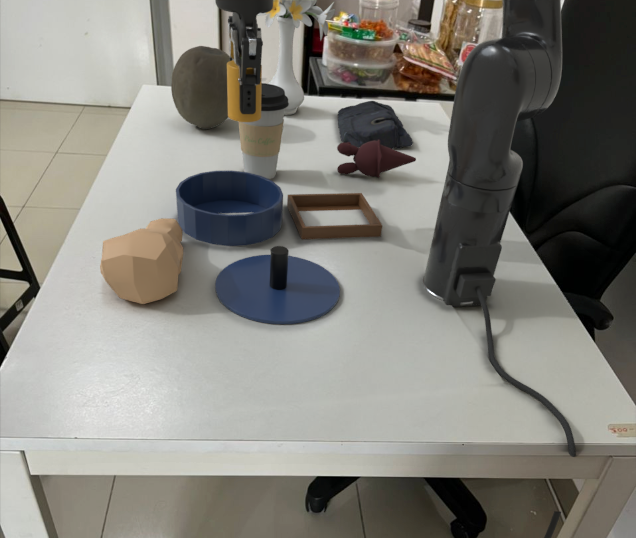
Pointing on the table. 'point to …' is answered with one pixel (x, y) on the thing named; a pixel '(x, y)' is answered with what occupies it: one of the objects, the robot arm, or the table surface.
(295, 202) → the tray
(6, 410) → the table surface
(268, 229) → the pot
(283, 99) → the coffee cup
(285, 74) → the flower vase
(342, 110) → the dark slate chunk
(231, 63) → the pineapple
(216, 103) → the cantaloupe
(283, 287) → the lid
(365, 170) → the icecream
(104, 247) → the squash
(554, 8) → the robot arm
